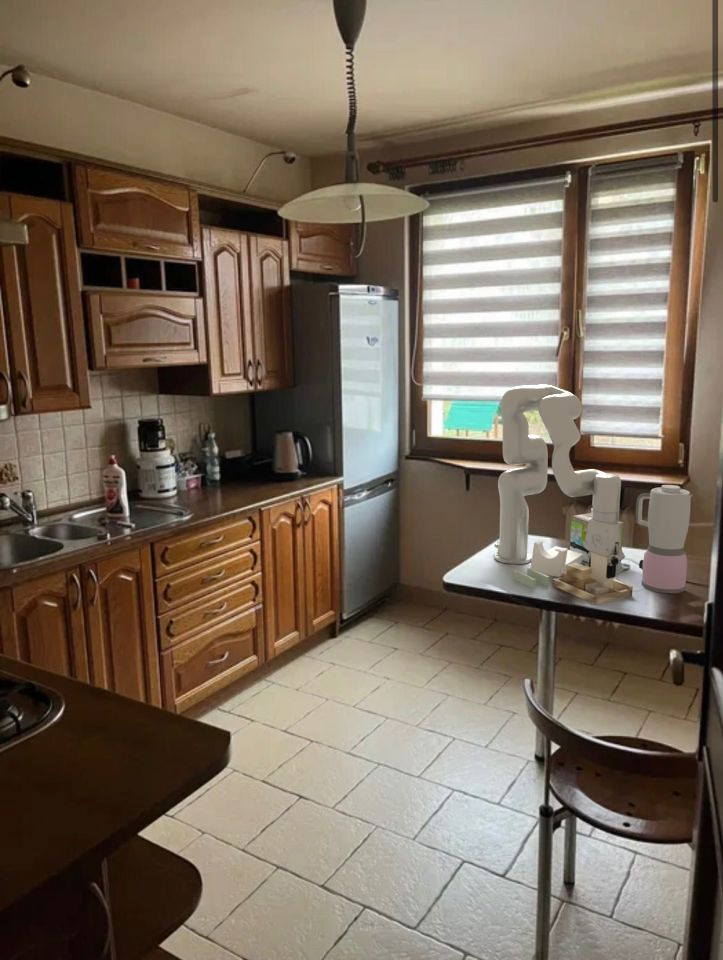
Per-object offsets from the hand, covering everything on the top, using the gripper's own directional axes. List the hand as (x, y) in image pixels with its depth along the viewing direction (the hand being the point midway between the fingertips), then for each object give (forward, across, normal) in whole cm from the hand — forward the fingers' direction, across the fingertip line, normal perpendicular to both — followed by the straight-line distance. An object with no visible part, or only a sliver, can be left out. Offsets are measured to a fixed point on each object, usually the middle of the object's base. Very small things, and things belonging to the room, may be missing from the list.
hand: (601, 573), depth 213 cm
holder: (+6, -14, -15) cm, 21 cm away
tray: (+6, 0, -4) cm, 7 cm away
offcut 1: (+1, -3, -6) cm, 7 cm away
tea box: (+6, -24, +21) cm, 33 cm away
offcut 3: (+5, +5, -7) cm, 10 cm away
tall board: (+5, 0, 0) cm, 5 cm away
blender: (+6, +6, +17) cm, 19 cm away
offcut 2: (+5, -3, -6) cm, 8 cm away
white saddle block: (+6, -22, +2) cm, 23 cm away
